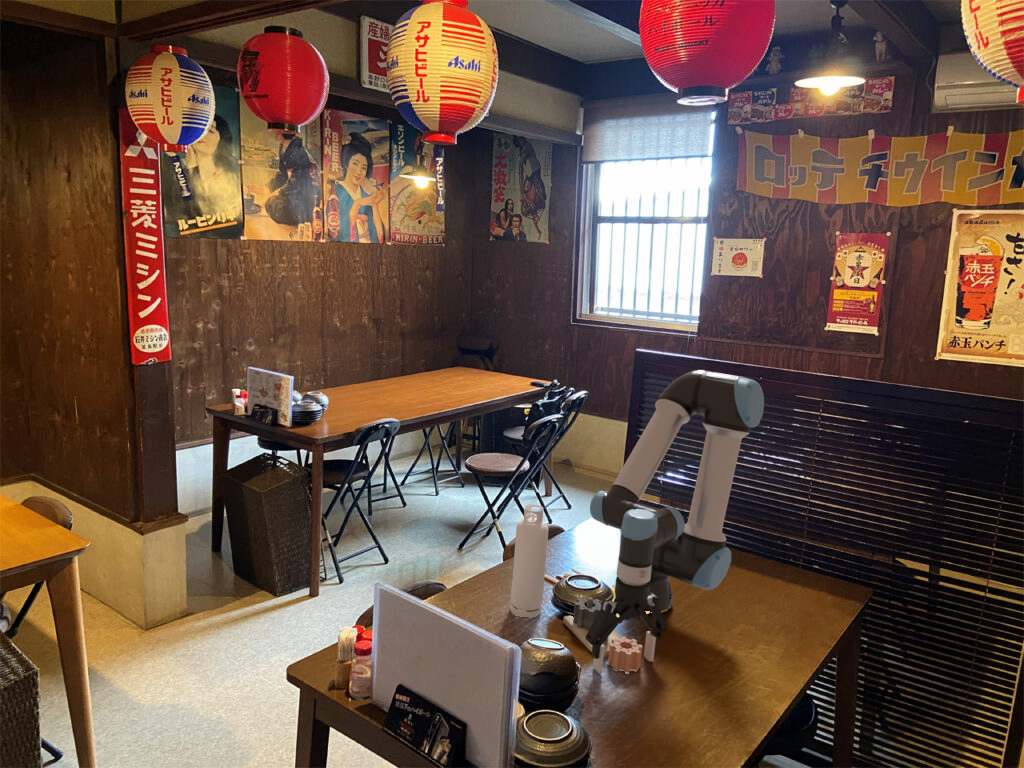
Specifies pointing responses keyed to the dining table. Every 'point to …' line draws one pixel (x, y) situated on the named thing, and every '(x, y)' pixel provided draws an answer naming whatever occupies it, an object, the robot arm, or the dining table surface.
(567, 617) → the gear board
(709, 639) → the dining table surface
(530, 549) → the bottle
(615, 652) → the gear
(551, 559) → the dining table surface
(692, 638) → the dining table surface
